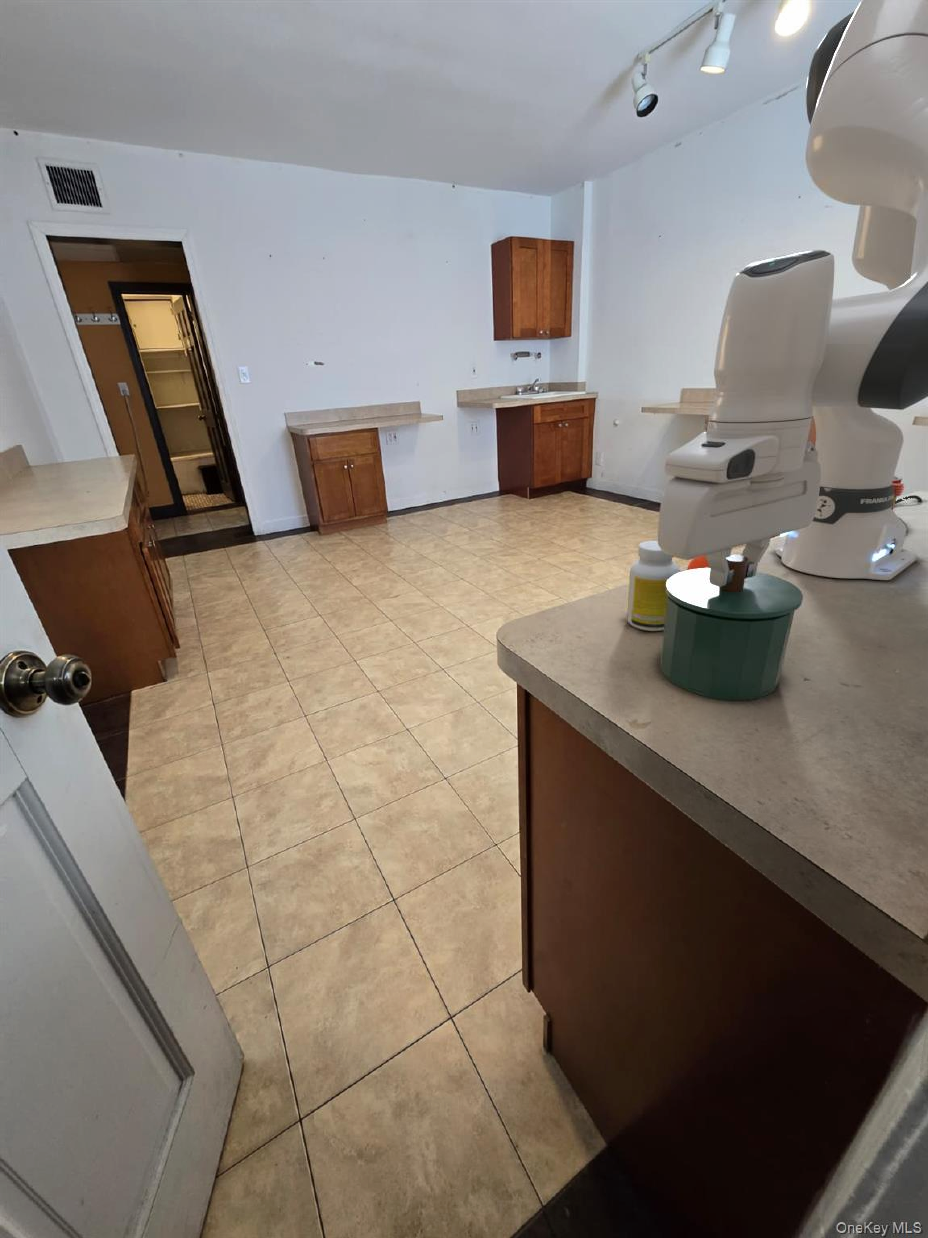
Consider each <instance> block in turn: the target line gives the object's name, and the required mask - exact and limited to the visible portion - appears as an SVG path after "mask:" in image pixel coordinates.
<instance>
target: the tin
mask: <svg viewBox="0 0 928 1238" xmlns="http://www.w3.org/2000/svg"><path fill="white" fill-rule="evenodd" d="M795 611H796V610H795ZM795 611H793V612H791V613H789V614H786V615H782V616H777V617H771V618H759V619H744V618H730V617H722V616H716V615H711V614H706V613H702V612H699V611H695V610H692V609H690V608H687V607H684V606H682V605H680V604H678V603H677V602H675V601H673V600H672V599H671V598H670V597H669V596H668V595H667V603H666V612H665V622H664V630H662V632H663V633H662V641H661V651H660V663H659V664H660V670H661V672H662V674H663V675H664V676H665V678H666V679H667V680H668V681H670V682H671V683H672V684H674V685H676V686H677V687H679V688H681V689H683V690H685V691H687V692H689V693H693V694H695V695H698V696H702V697H706V698H709V699H714V700H721V701H737V702H739V701H750V700H756V699H760V698H763V697H765V696H768V695H769V694H771V693H772V692H773V691H774V690H775V689H776V688H777V686H778V682H779V681H780V678H781V674H782V670H783V665H784V661H785V656H786V652H787V648H788V642H789V638H790V634H791V629H792V625H793V620H794V616H795Z"/></svg>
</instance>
